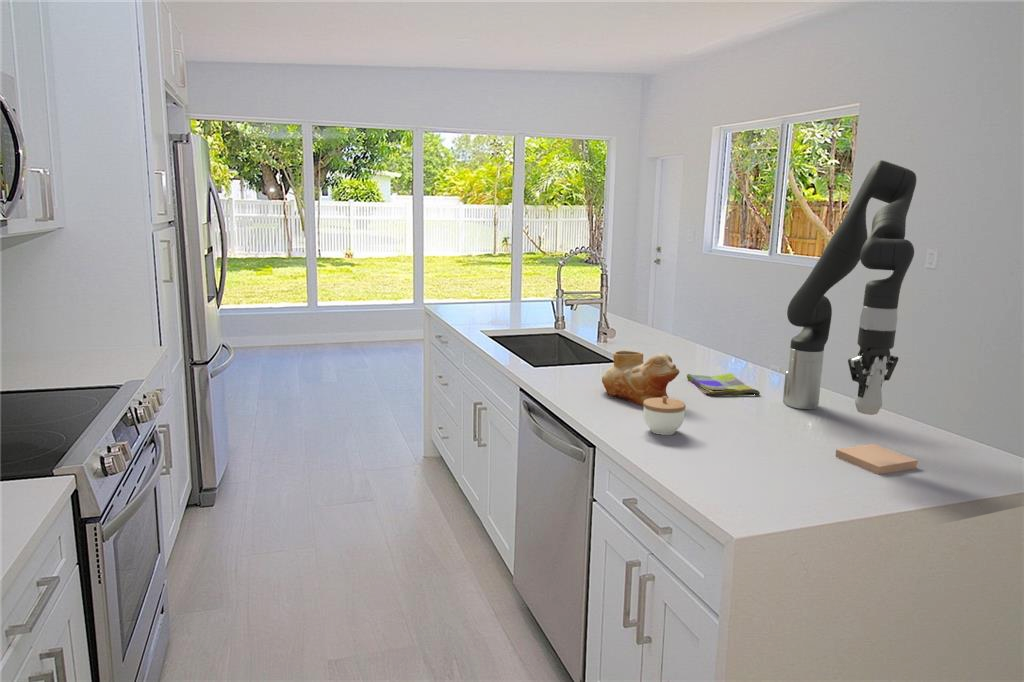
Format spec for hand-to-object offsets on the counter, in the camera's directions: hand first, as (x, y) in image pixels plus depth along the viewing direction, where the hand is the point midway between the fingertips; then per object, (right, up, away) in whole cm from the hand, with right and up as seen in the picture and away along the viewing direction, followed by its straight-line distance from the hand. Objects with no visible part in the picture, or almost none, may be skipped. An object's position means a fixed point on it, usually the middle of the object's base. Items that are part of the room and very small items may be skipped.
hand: (868, 398), depth 166 cm
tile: (-1, -13, +5) cm, 14 cm away
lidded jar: (-44, -10, +20) cm, 49 cm away
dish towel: (-15, -2, +67) cm, 69 cm away
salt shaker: (0, -3, +1) cm, 3 cm away
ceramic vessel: (-45, -4, +52) cm, 69 cm away
